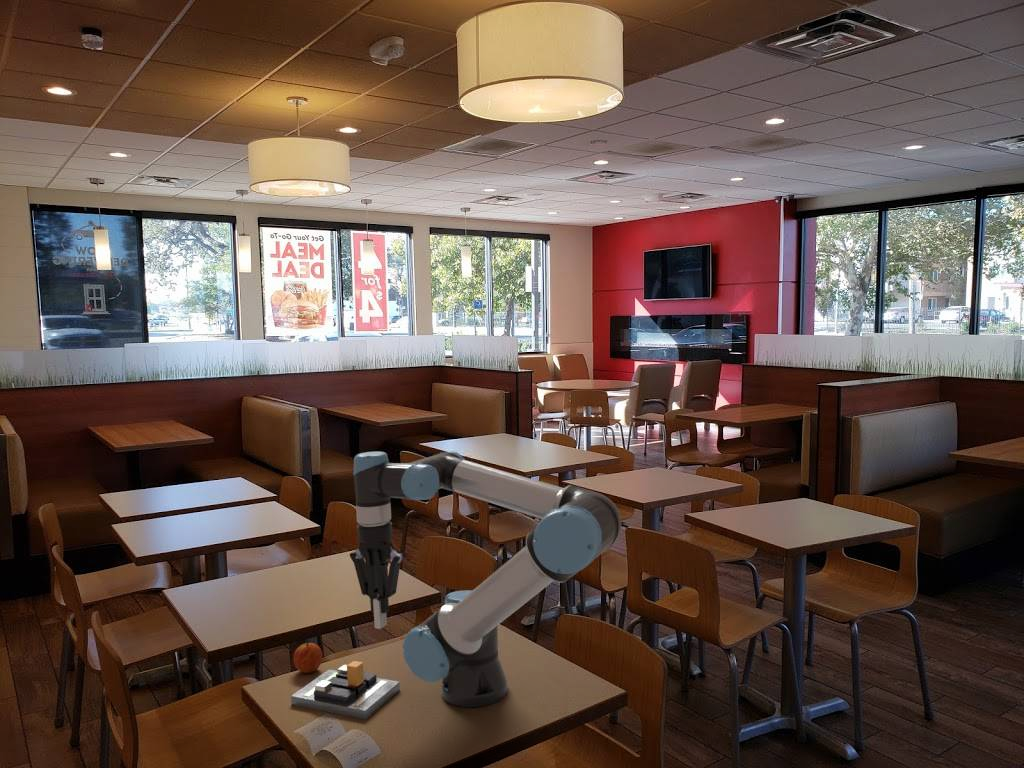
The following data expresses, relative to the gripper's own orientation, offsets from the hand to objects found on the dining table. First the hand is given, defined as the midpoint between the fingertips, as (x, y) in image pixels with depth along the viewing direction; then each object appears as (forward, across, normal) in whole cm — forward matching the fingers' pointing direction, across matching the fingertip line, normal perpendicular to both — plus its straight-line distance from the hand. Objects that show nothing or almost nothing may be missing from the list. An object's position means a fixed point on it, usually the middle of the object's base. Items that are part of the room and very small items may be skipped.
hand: (380, 626), depth 167 cm
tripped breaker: (+14, +8, 0) cm, 16 cm away
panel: (+18, +11, 0) cm, 21 cm away
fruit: (+18, +28, -8) cm, 34 cm away
